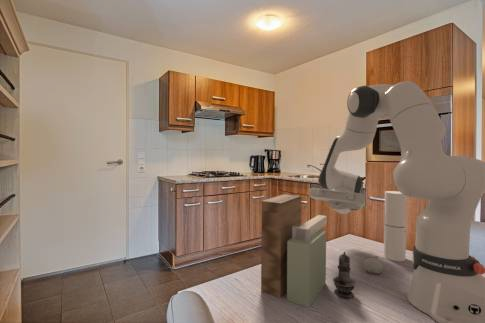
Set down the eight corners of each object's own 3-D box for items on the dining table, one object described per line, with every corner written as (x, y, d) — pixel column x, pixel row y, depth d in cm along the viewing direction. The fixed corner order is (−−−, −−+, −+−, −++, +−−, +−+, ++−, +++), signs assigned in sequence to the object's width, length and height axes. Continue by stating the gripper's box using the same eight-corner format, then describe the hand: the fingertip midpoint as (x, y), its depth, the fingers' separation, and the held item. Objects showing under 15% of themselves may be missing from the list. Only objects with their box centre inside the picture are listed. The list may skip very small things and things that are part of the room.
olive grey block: (325, 283, 79) (326, 231, 79) (308, 307, 67) (309, 245, 66) (306, 278, 83) (307, 228, 82) (286, 300, 70) (287, 241, 70)
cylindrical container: (379, 255, 102) (380, 191, 101) (393, 253, 104) (394, 190, 103) (395, 262, 95) (396, 194, 94) (410, 260, 97) (411, 193, 96)
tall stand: (300, 276, 84) (301, 195, 83) (280, 297, 71) (280, 203, 71) (283, 271, 87) (284, 194, 86) (261, 291, 75) (261, 200, 74)
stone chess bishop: (351, 289, 76) (352, 248, 76) (358, 300, 70) (358, 256, 70) (330, 287, 77) (331, 247, 76) (335, 298, 71) (336, 255, 70)
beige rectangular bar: (329, 224, 86) (329, 215, 86) (308, 241, 70) (309, 229, 69) (315, 222, 89) (315, 213, 89) (292, 238, 72) (292, 226, 72)
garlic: (378, 268, 90) (378, 253, 90) (386, 275, 84) (387, 260, 84) (360, 268, 90) (361, 253, 90) (367, 275, 85) (368, 259, 85)
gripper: (314, 188, 111) (306, 180, 100) (367, 195, 101) (365, 187, 90) (312, 203, 110) (303, 197, 98) (365, 211, 100) (363, 205, 88)
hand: (333, 192), depth 94 cm, fingers open, 8 cm apart
